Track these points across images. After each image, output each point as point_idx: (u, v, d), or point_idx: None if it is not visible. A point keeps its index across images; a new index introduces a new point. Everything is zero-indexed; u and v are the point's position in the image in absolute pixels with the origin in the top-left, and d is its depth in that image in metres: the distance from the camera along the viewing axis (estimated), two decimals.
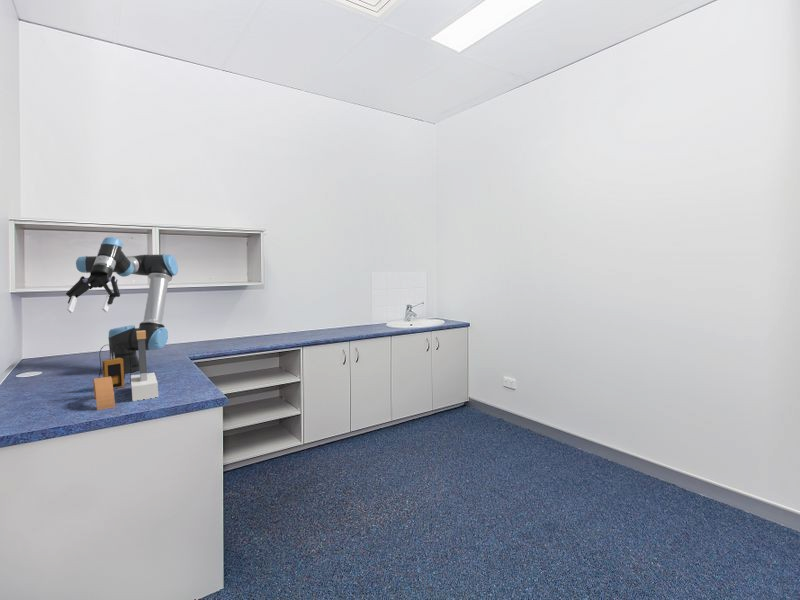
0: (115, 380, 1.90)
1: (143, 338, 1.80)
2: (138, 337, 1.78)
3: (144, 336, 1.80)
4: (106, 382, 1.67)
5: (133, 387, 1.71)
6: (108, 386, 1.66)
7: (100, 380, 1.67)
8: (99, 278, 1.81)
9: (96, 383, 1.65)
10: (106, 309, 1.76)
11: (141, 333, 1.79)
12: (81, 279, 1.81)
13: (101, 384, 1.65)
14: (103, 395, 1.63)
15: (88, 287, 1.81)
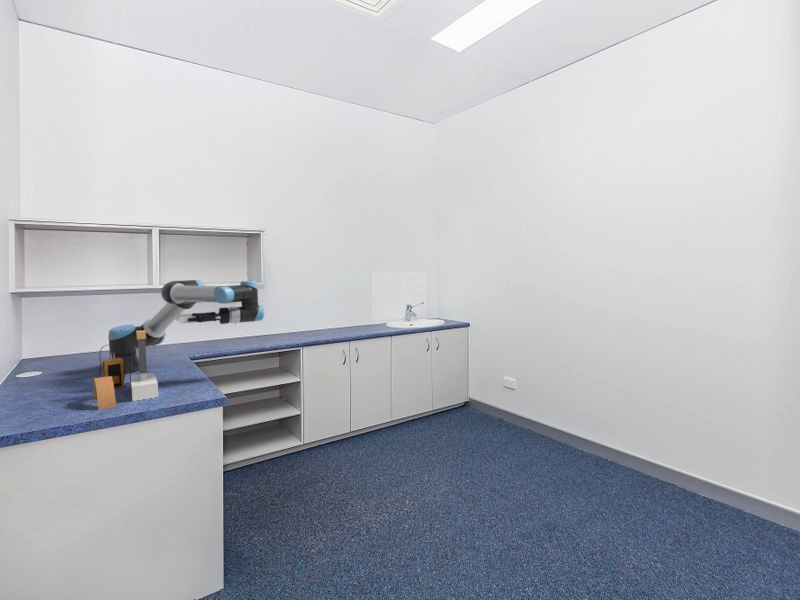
0: (115, 381, 1.90)
1: (143, 338, 1.80)
2: (138, 337, 1.78)
3: (144, 336, 1.80)
4: (107, 382, 1.67)
5: (133, 387, 1.71)
6: (109, 386, 1.66)
7: (101, 380, 1.68)
8: None
9: (97, 383, 1.66)
10: None
11: (141, 333, 1.79)
12: None
13: (102, 384, 1.66)
14: (104, 394, 1.64)
15: None
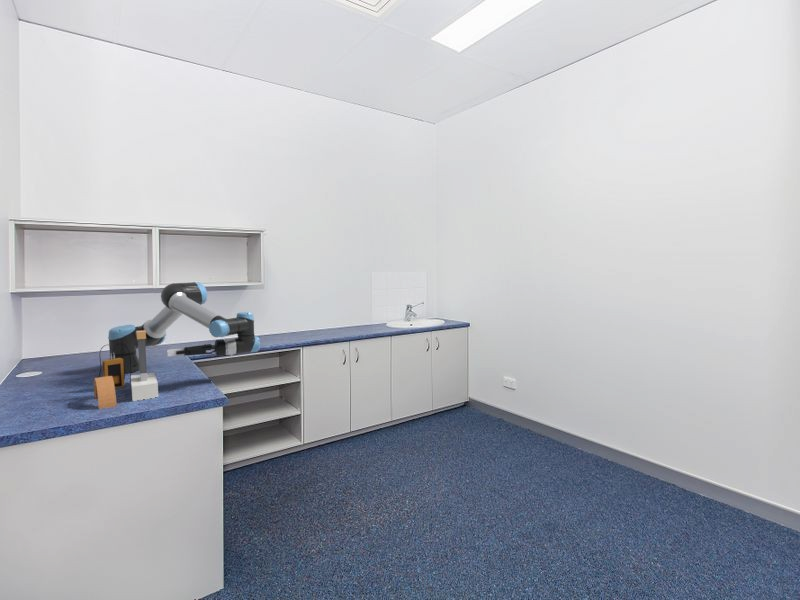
0: (115, 381, 1.90)
1: (143, 338, 1.80)
2: (138, 337, 1.78)
3: (144, 336, 1.80)
4: (107, 381, 1.68)
5: (133, 387, 1.71)
6: (109, 385, 1.67)
7: (101, 379, 1.68)
8: None
9: (98, 383, 1.66)
10: None
11: (141, 333, 1.79)
12: None
13: (102, 383, 1.67)
14: (105, 394, 1.64)
15: None
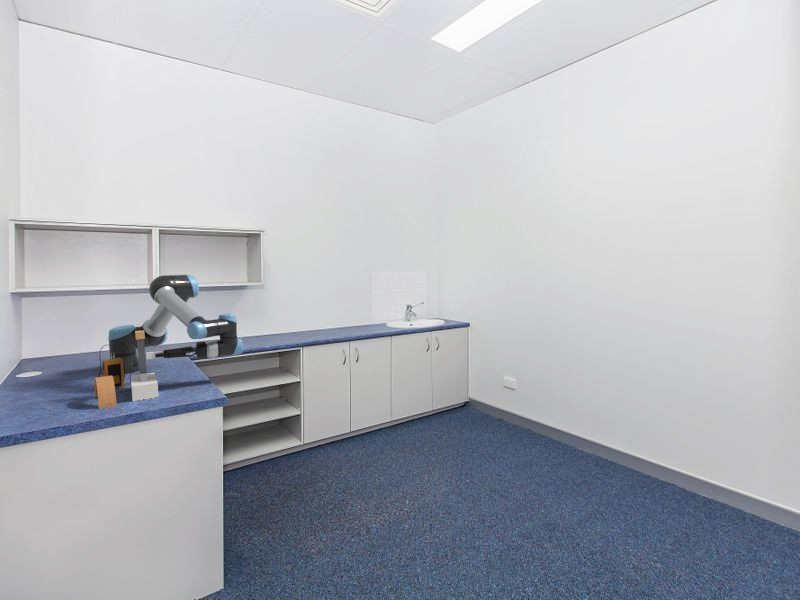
0: (115, 380, 1.90)
1: (142, 338, 1.79)
2: (137, 337, 1.78)
3: (143, 336, 1.79)
4: (107, 381, 1.68)
5: (133, 387, 1.71)
6: (109, 385, 1.67)
7: (101, 379, 1.69)
8: None
9: (98, 382, 1.67)
10: None
11: (140, 333, 1.79)
12: None
13: (103, 383, 1.67)
14: (105, 393, 1.65)
15: None
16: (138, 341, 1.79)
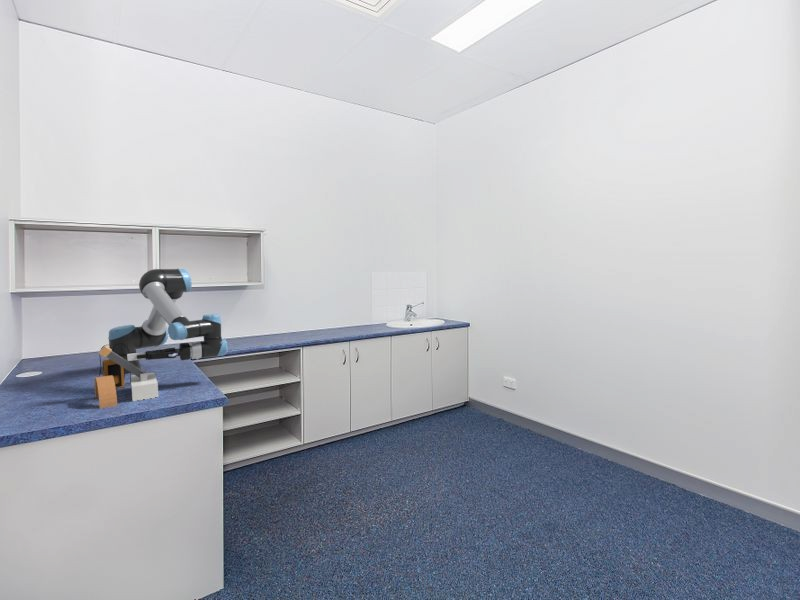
0: (115, 381, 1.90)
1: (109, 352, 1.73)
2: (104, 355, 1.72)
3: (108, 350, 1.73)
4: (108, 381, 1.69)
5: (133, 387, 1.71)
6: (110, 385, 1.68)
7: (102, 379, 1.69)
8: None
9: (99, 382, 1.67)
10: None
11: (103, 350, 1.72)
12: None
13: (103, 383, 1.67)
14: (105, 393, 1.65)
15: None
16: (109, 357, 1.74)
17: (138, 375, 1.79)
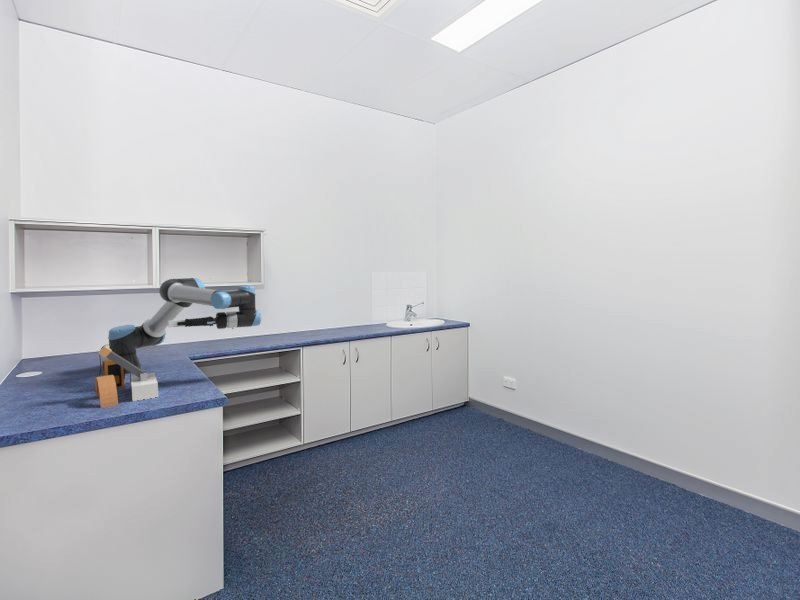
0: (115, 380, 1.90)
1: (109, 352, 1.73)
2: (104, 355, 1.72)
3: (108, 351, 1.73)
4: (109, 380, 1.70)
5: (133, 387, 1.71)
6: (111, 384, 1.69)
7: (103, 378, 1.70)
8: None
9: (99, 382, 1.68)
10: None
11: (103, 351, 1.72)
12: None
13: (104, 382, 1.68)
14: (106, 393, 1.66)
15: None
16: (109, 357, 1.74)
17: (138, 375, 1.79)
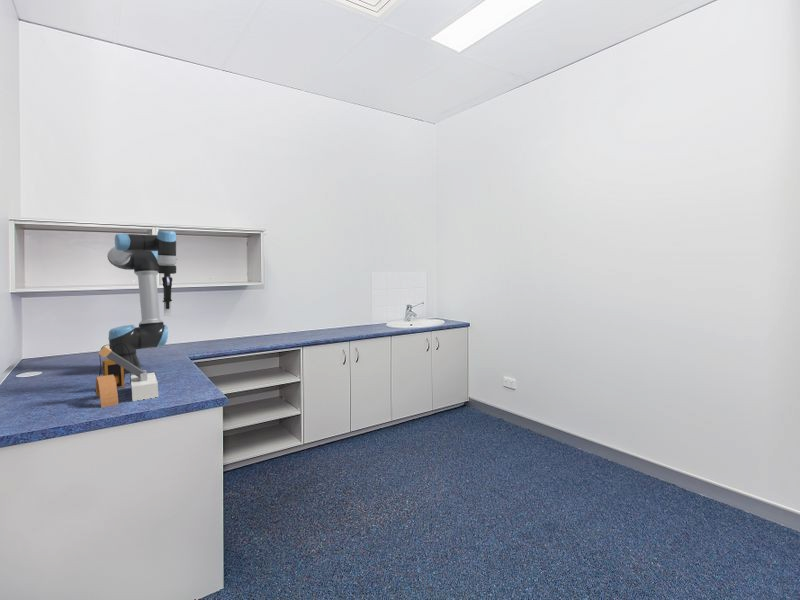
0: None
1: (109, 352, 1.73)
2: (104, 355, 1.72)
3: (108, 351, 1.73)
4: (109, 380, 1.70)
5: (133, 387, 1.71)
6: (111, 384, 1.69)
7: (103, 378, 1.70)
8: None
9: (100, 381, 1.68)
10: None
11: (103, 351, 1.72)
12: (171, 283, 1.95)
13: (104, 382, 1.69)
14: (107, 392, 1.66)
15: None
16: (109, 357, 1.74)
17: (138, 375, 1.79)
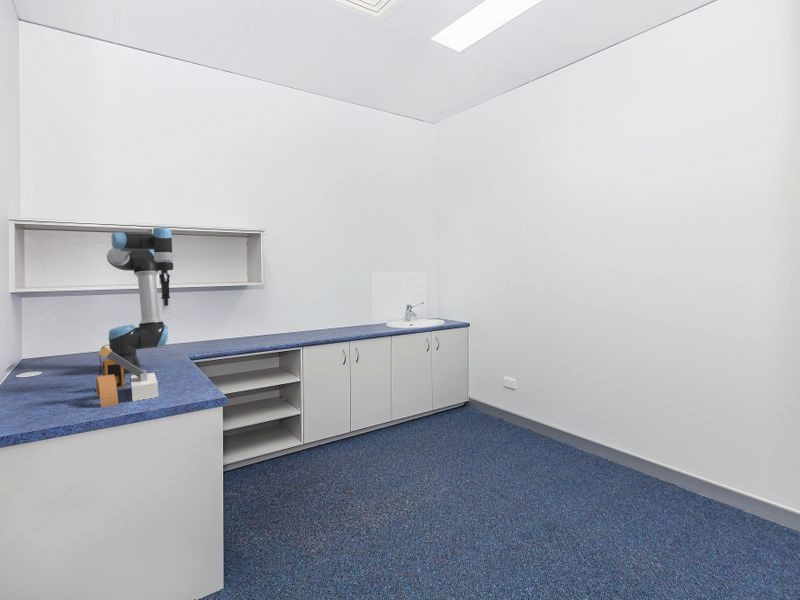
0: None
1: (109, 352, 1.73)
2: (104, 355, 1.72)
3: (108, 351, 1.73)
4: (109, 380, 1.70)
5: (133, 387, 1.71)
6: (111, 384, 1.69)
7: (103, 378, 1.71)
8: None
9: (100, 381, 1.68)
10: None
11: (103, 351, 1.72)
12: (168, 279, 1.95)
13: (104, 382, 1.69)
14: (106, 392, 1.67)
15: None
16: (109, 357, 1.74)
17: (138, 375, 1.79)
